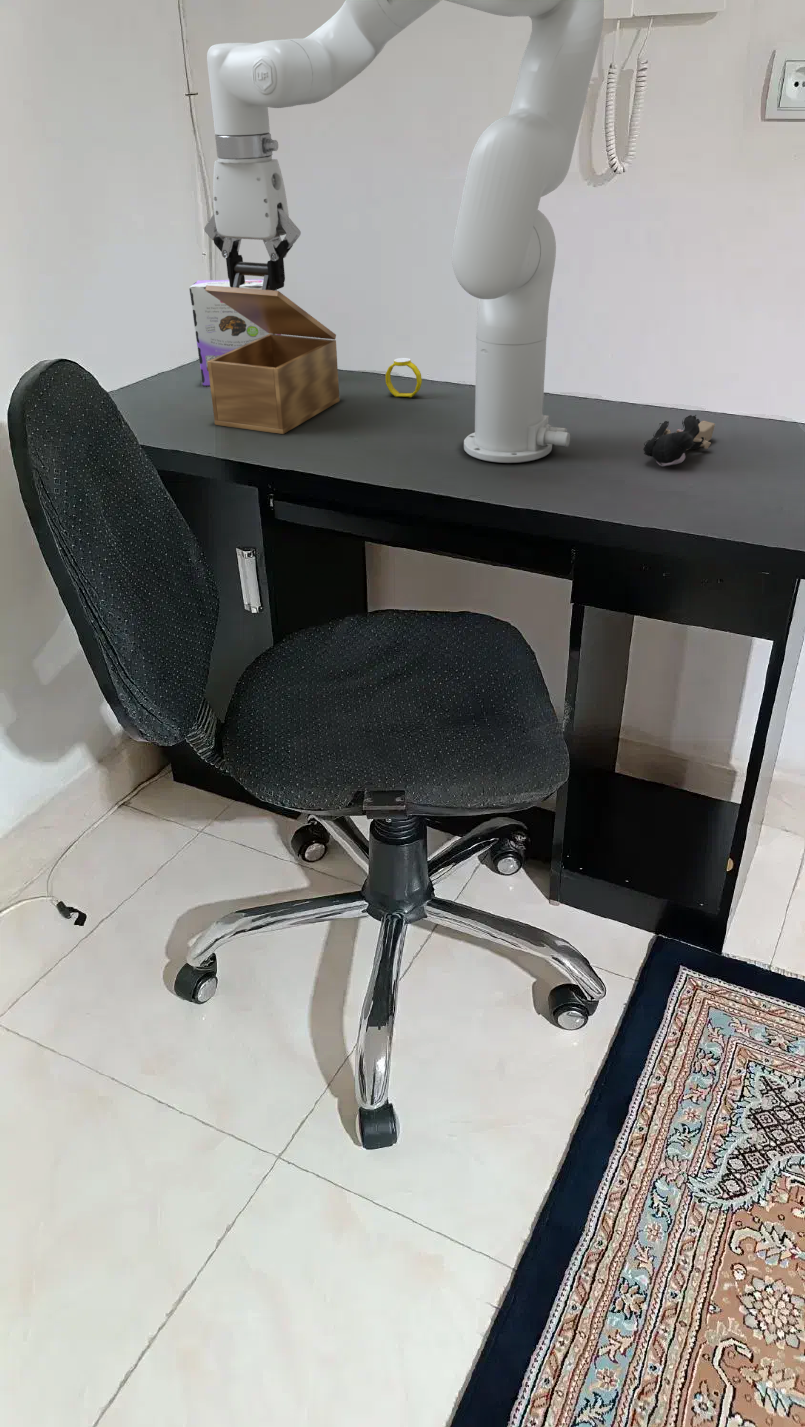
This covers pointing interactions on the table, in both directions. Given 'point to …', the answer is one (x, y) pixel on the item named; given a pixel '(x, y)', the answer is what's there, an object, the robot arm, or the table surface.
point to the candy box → (220, 323)
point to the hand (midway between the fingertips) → (257, 286)
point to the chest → (274, 382)
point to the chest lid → (268, 305)
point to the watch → (418, 375)
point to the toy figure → (678, 441)
